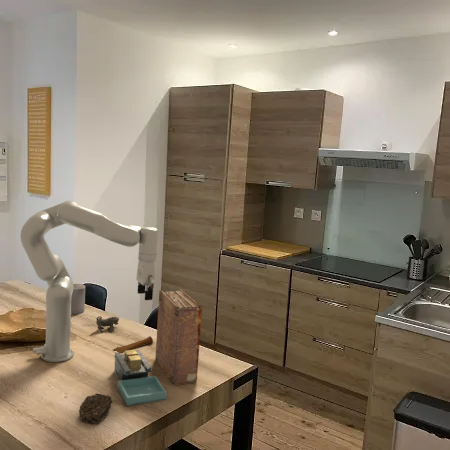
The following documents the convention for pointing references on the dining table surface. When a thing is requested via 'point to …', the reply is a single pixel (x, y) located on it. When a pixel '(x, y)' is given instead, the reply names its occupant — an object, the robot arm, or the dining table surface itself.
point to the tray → (141, 390)
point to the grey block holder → (130, 373)
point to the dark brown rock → (95, 408)
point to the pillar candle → (78, 299)
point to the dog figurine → (107, 322)
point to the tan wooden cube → (129, 354)
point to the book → (178, 336)
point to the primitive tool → (134, 345)
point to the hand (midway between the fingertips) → (144, 296)
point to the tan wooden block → (134, 361)
